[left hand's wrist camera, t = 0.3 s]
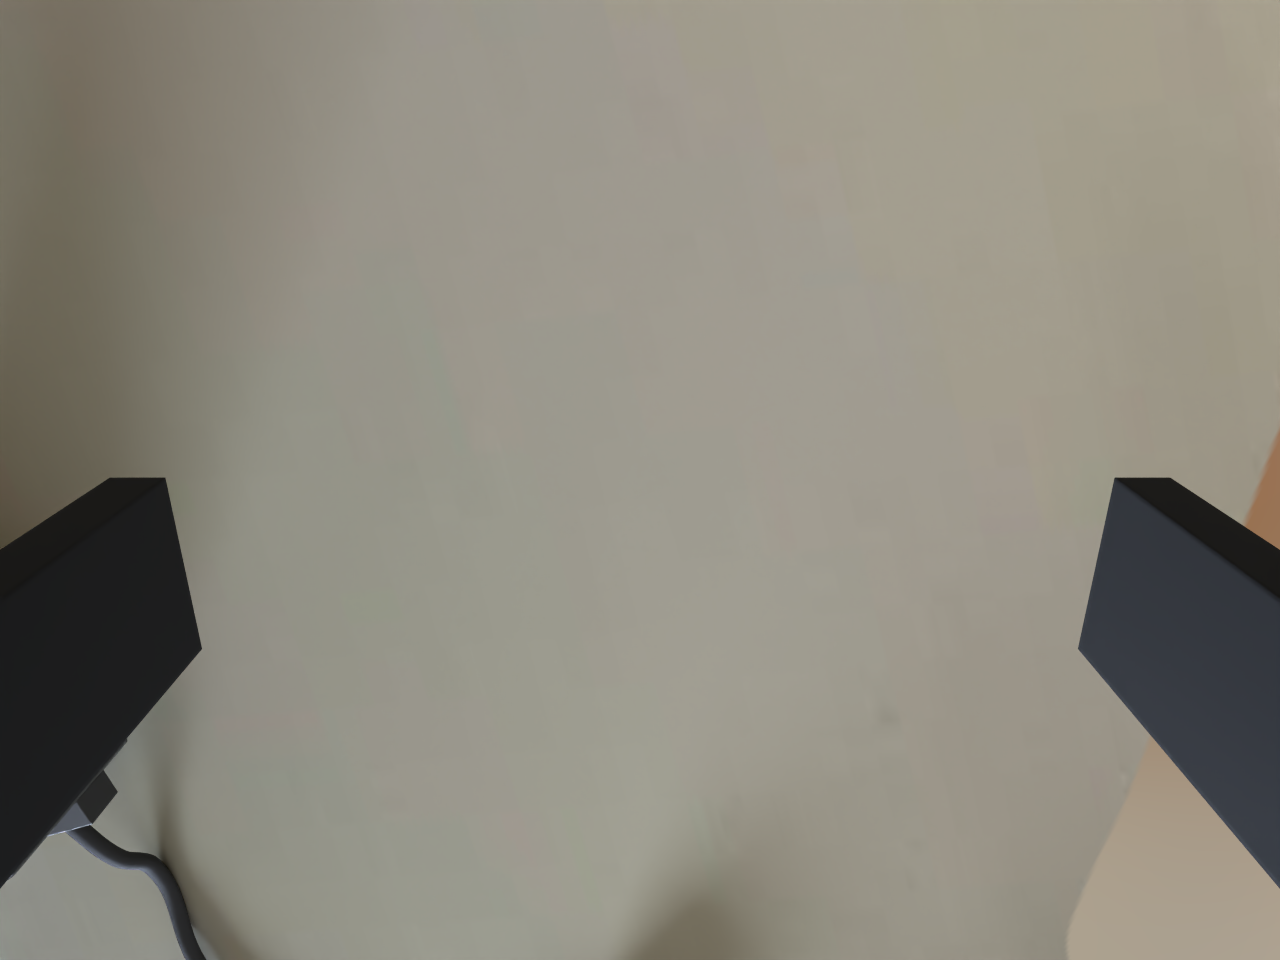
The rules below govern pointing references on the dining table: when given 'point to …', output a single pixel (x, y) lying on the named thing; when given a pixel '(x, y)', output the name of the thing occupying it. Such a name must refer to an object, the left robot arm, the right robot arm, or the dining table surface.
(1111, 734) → the dining table surface
